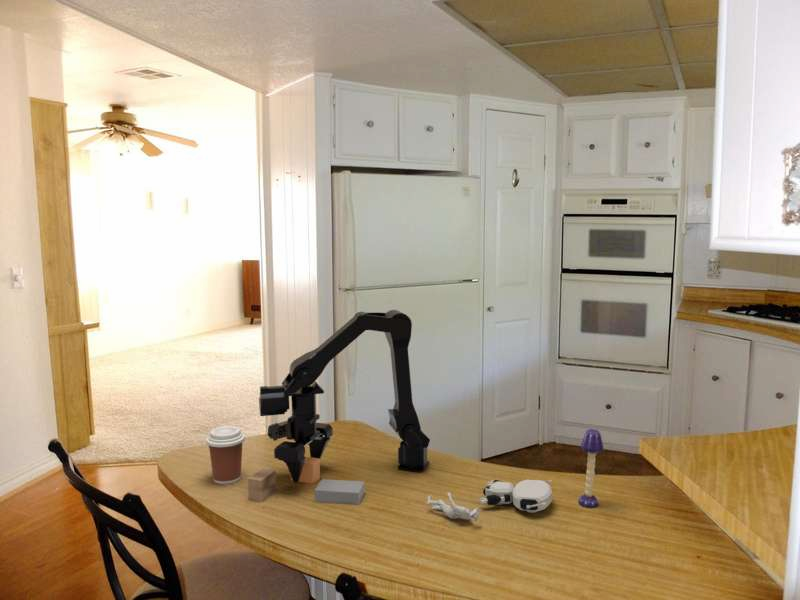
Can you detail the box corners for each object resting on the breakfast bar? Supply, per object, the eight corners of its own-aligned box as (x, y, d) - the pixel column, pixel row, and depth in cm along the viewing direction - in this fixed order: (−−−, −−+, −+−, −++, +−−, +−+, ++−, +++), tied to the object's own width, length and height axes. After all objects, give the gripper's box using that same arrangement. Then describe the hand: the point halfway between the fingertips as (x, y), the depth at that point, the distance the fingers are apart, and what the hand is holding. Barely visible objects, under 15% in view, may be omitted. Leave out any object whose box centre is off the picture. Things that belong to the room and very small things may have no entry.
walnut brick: (263, 488, 147) (262, 468, 146) (276, 491, 146) (275, 470, 145) (248, 499, 141) (247, 478, 141) (261, 502, 140) (261, 480, 139)
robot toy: (477, 515, 135) (549, 521, 130) (476, 495, 135) (548, 500, 130) (489, 492, 147) (555, 496, 142) (488, 473, 146) (554, 477, 141)
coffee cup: (216, 489, 146) (214, 440, 145) (201, 477, 153) (199, 429, 152) (253, 479, 152) (251, 431, 150) (236, 467, 159) (235, 421, 157)
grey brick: (364, 494, 145) (364, 481, 144) (358, 506, 139) (358, 493, 138) (322, 491, 146) (322, 479, 146) (314, 503, 140) (314, 490, 140)
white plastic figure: (444, 507, 139) (490, 505, 132) (439, 529, 136) (486, 528, 129) (423, 491, 135) (470, 488, 128) (418, 513, 132) (466, 510, 125)
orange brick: (320, 478, 153) (319, 458, 152) (313, 484, 149) (312, 463, 149) (298, 475, 155) (297, 455, 154) (291, 480, 152) (290, 460, 151)
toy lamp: (602, 501, 139) (605, 429, 137) (599, 510, 135) (602, 435, 133) (580, 497, 141) (582, 426, 139) (576, 506, 137) (579, 432, 135)
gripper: (293, 398, 161) (295, 456, 163) (252, 420, 144) (255, 485, 146) (333, 402, 157) (334, 462, 160) (295, 425, 140) (297, 492, 142)
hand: (305, 474), depth 152 cm, fingers open, 9 cm apart
